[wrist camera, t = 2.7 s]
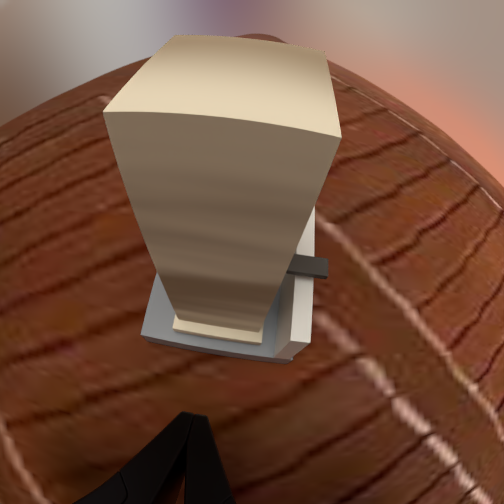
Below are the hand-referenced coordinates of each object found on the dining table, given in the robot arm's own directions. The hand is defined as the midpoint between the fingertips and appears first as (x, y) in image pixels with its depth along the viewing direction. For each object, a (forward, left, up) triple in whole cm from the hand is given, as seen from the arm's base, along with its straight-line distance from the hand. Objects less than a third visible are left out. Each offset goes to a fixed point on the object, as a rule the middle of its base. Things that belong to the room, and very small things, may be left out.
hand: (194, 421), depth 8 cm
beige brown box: (+7, +1, -5) cm, 8 cm away
